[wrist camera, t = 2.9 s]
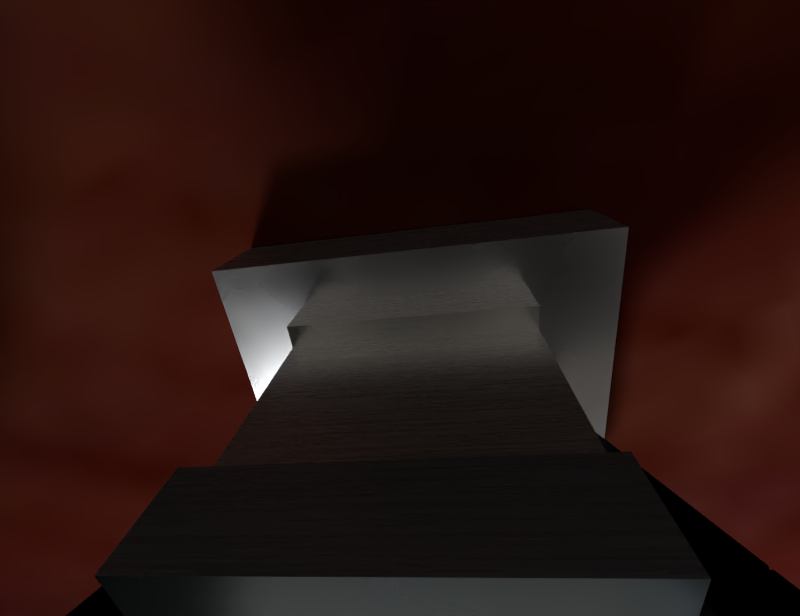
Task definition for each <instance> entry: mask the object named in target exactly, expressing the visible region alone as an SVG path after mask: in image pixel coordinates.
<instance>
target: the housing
mask: <svg viewBox="0 0 800 616" xmlns="http://www.w3.org/2000/svg"><path fill="white" fill-rule="evenodd" d="M287 330H288V333H289V337H290V340H291V344H292V347H293V348H292V350H291V351H290V353H289V354H288V356H287V357H286V359H285V360H284V362H283V363H282V365H281V366H280V368H279V369H278V371H277V372H276V374H275V375H274V377H273V378H272V380H271V381H270V383H269V384H268V386H267V387H266V389H265V390H264V392H263V393H262V395H261V396H260V398H259V399H258V401H257V402H256V404H255V405H254V407H253V408H252V410H251V411H250V413H249V414H248V416H247V417H246V419H245V420H244V422H243V423H242V425H241V426H240V428H239V429H238V431H237V432H236V434H235V435H234V437H233V438H232V440H231V441H230V443H229V444H228V446H227V447H226V449H225V450H224V452H223V453H222V455H221V456H220V458H219V459H218V461H217V462H216V464H215V465H214V466H206V467H178V468H177V469H176V471H175V472H174V473H173V475H172V476H171V477H170V479H169V480H168V481H167V482H166V484H165V485H164V486H163V488H162V489H161V490H160V491H159V493H158V494H157V495H156V497H155V498H154V499H153V501H152V502H151V503H150V504H149V506H148V507H147V508H146V510H145V511H144V512H143V513H142V515H141V516H140V517H139V519H138V520H137V521H136V522H135V524H134V525H133V526H132V528H131V529H130V530H129V532H128V533H127V534H126V535H125V537H124V538H123V539H122V541H121V542H120V543H119V544H118V546H117V547H116V548H115V550H114V551H113V552H112V554H111V555H110V556H109V557H108V559H107V560H106V561H105V563H104V564H103V565H102V566H101V568H100V569H99V570H98V572H97V573H96V574H95V575H94V576H95V577H96V579H97V580H98V581H99V583H100V584H101V585H102V587H103V588H104V589H105V591H106V592H107V593H108V595H109V596H110V598H111V599H112V600H113V602H114V603H115V604H116V606H117V607H118V608H119V610H120V611H121V612H122V614H123V615H124V616H699V615H700V612H701V609H702V606H703V603H704V600H705V597H706V594H707V591H708V588H709V585H710V581H711V578H710V576H709V575H708V573H707V572H706V570H705V568H704V567H703V565H702V564H701V562H700V560H699V559H698V557H697V556H696V554H695V553H694V551H693V549H692V548H691V546H690V545H689V543H688V541H687V540H686V538H685V537H684V535H683V533H682V532H681V530H680V529H679V527H678V525H677V524H676V522H675V521H674V519H673V518H672V516H671V514H670V513H669V511H668V510H667V508H666V506H665V505H664V503H663V502H662V500H661V498H660V497H659V495H658V494H657V492H656V490H655V489H654V487H653V486H652V484H651V483H650V481H649V479H648V478H647V476H646V475H645V473H644V471H643V470H642V468H641V467H640V465H639V463H638V462H637V460H636V459H635V457H634V455H633V454H632V452H606V450H605V449H604V447H603V445H602V443H601V441H600V440H599V438H598V436H597V434H596V432H595V430H594V429H593V427H592V425H591V423H590V421H589V420H588V418H587V416H586V414H585V412H584V410H583V409H582V407H581V405H580V403H579V401H578V399H577V398H576V396H575V394H574V392H573V390H572V389H571V387H570V385H569V383H568V381H567V379H566V378H565V376H564V374H563V372H562V370H561V369H560V367H559V365H558V363H557V361H556V359H555V358H554V356H553V354H552V352H551V350H550V348H549V347H548V345H547V343H546V341H545V339H544V338H543V336H542V334H541V332H540V330H539V304H538V303H537V301H536V300H535V298H534V296H533V295H532V293H531V292H530V290H529V288H528V287H527V285H526V284H525V283H522V284H511V285H500V286H489V287H478V288H467V289H456V290H446V291H435V292H424V293H413V294H402V295H391V296H380V297H370V298H359V299H348V300H337V301H326V302H315V303H305V304H304V305H303V307H302V308H301V309H300V311H299V312H298V313H297V314H296V316H295V317H294V318H293V320H292V321H291V322H290V323H289V325H288V326H287Z"/></svg>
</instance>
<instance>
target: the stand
mask: <svg viewBox="0 0 800 616" xmlns="http://www.w3.org/2000/svg"><path fill="white" fill-rule="evenodd" d="M628 229H629V227H628V226H626V225H624V224H621V223H619V222H617V221H615V220H613V219H611V218H608V217H606V216H604V215H602V214H600V213H598V212H595V211H593V210H591V209H589V210H580V211H572V212H563V213H554V214H545V215H537V216H528V217H519V218H510V219H502V220H493V221H484V222H475V223H466V224H458V225H449V226H440V227H431V228H423V229H414V230H405V231H396V232H388V233H379V234H370V235H361V236H352V237H344V238H335V239H326V240H317V241H309V242H300V243H291V244H282V245H273V246H265V247H256V248H250V249H248V250H246V251H245V252H243V253H241V254H240V255H238V256H237V257H235V258H233V259H232V260H230V261H228V262H227V263H225V264H223V265H222V266H220V267H218V268H217V269H215V270H213V271H212V274H213V276H214V279H215V282H216V285H217V288H218V291H219V293H220V296H221V299H222V302H223V305H224V308H225V310H226V313H227V316H228V319H229V322H230V325H231V328H232V330H233V333H234V336H235V339H236V342H237V345H238V347H239V350H240V353H241V356H242V359H243V362H244V364H245V367H246V370H247V373H248V376H249V379H250V381H251V384H252V387H253V390H254V393H255V396H256V398H257V401H258V399H259V398H260V396H261V395H262V393H263V392H264V390H265V389H266V387H267V386H268V384H269V383H270V381H271V380H272V378H273V377H274V375H275V374H276V372H277V371H278V369H279V368H280V366H281V365H282V363H283V362H284V360H285V359H286V357H287V356H288V354H289V353H290V351H291V350H292V348H293V347H292V344H291V340H290V337H289V333H288V330H287V326H288V325H289V323H290V322H291V321H292V320H293V318H294V317H295V316H296V314H297V313H298V312H299V311H300V309H301V308H302V307H303V305H304V304H305V303H315V302H326V301H337V300H348V299H359V298H370V297H380V296H391V295H402V294H413V293H424V292H435V291H446V290H456V289H467V288H478V287H489V286H500V285H511V284H522V283H525V284H526V285H527V287H528V288H529V290H530V292H531V293H532V295H533V296H534V298H535V300H536V301H537V303H538V304H539V330H540V332H541V334H542V336H543V338H544V339H545V341H546V343H547V345H548V347H549V348H550V350H551V352H552V354H553V356H554V358H555V359H556V361H557V363H558V365H559V367H560V369H561V370H562V372H563V374H564V376H565V378H566V379H567V381H568V383H569V385H570V387H571V389H572V390H573V392H574V394H575V396H576V398H577V399H578V401H579V403H580V405H581V407H582V409H583V410H584V412H585V414H586V416H587V418H588V420H589V421H590V423H591V425H592V427H593V429H594V430H595V432H596V433H597V434H599V435H600V436H601V437H603V438H605V430H606V421H607V412H608V404H609V395H610V386H611V377H612V369H613V360H614V351H615V343H616V334H617V325H618V317H619V308H620V299H621V290H622V282H623V273H624V264H625V256H626V247H627V238H628Z"/></svg>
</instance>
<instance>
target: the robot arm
mask: <svg viewBox="0 0 800 616" xmlns="http://www.w3.org/2000/svg"><path fill="white" fill-rule="evenodd" d="M596 434H597V433H596ZM597 436H598V438H599V440H600V441H601V443H602V445H603V447H604V449H605V450H606V452H621V451H620V450H618V449H617V448H616V447H614V446H613V445H612V444H610V443H609V442H608V441H607V440H605V439H604V438H603V437H601V436H600V435H599V434H597ZM642 470H643V471H644V473H645V475H646V476H647V478H648V479H649V481H650V483H651V484H652V486H653V487H654V489H655V490H656V492H657V494H658V495H659V497H660V498H661V500H662V502H663V503H664V505H665V506H666V508H667V510H668V511H669V513H670V514H671V516H672V518H673V519H674V521H675V522H676V524H677V525H678V527H679V529H680V530H681V532H682V533H683V535H684V537H685V538H686V540H687V541H688V543H689V545H690V546H691V548H692V549H693V551H694V553H695V554H696V556H697V557H698V559H699V560H700V562H701V564H702V565H703V567H704V568H705V570H706V572H707V573H708V575H709V576H710V578H711V581H710V585H709V588H708V591H707V594H706V597H705V600H704V603H703V606H702V609H701V612H700V615H699V616H800V590H799V589H798V588H797V587H795V586H794V585H793V584H792V583H790V582H789V581H788V580H786V579H785V578H784V577H783V576H781V575H780V574H779V573H777V572H776V571H775V570H769V566H768V565H767V564H765V563H764V562H763V561H762V560H760V559H759V558H758V557H756V556H755V555H754V554H753V553H751V552H750V551H749V550H747V549H746V548H745V547H744V546H742V545H741V544H740V543H738V542H737V541H736V540H734V539H733V538H732V537H731V536H729V535H728V534H727V533H725V532H724V531H723V530H722V529H720V528H719V527H718V526H716V525H715V524H714V523H713V522H711V521H710V520H709V519H707V518H706V517H705V516H703V515H702V514H701V513H700V512H698V511H697V510H696V509H694V508H693V507H692V506H691V505H689V504H688V503H687V502H685V501H684V500H683V499H682V498H680V497H679V496H678V495H676V494H675V493H674V492H672V491H671V490H670V489H669V488H667V487H666V486H665V485H663V484H662V483H661V482H660V481H658V480H657V479H656V478H654V477H653V476H652V475H651V474H649V473H648V472H647V471H645V470H644V469H643V468H642ZM66 616H124V615H123V614H122V612H121V611H120V610H119V608H118V607H117V606H116V604H115V603H114V602H113V600H112V599H111V598H110V596H109V595H108V593H107V592H106V591H105V589H104V588H103V587H102V586H101V587H100V588H99V589H98V590H97V591H95V592H94V593H93V594H92V595H91V596H89V597H88V598H87V599H86V600H84V601H83V602H82V603H81V604H80V605H78V606H77V607H76V608H75V609H73V610H72V611H71V612H70V613H68V614H67V615H66Z"/></svg>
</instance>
